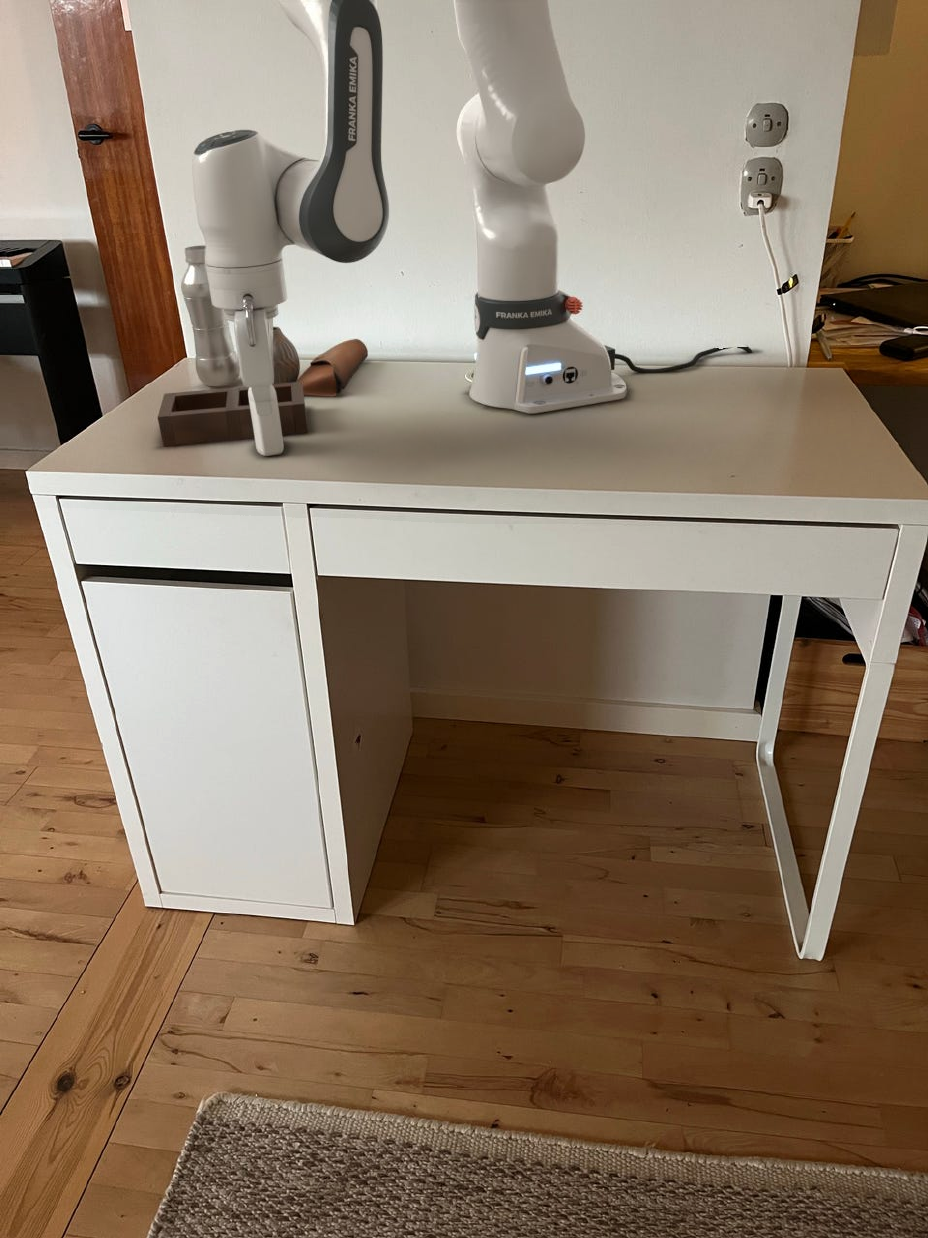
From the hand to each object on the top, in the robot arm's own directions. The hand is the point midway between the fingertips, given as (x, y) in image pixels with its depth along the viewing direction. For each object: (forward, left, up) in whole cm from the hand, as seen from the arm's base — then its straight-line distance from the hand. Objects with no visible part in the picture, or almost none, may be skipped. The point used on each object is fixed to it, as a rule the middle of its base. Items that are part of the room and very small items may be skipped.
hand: (264, 401), depth 119 cm
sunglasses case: (-9, -29, -6) cm, 31 cm away
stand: (+5, -10, -6) cm, 13 cm away
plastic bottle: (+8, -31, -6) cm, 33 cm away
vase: (-1, -27, -6) cm, 28 cm away
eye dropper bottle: (0, 0, -6) cm, 6 cm away
